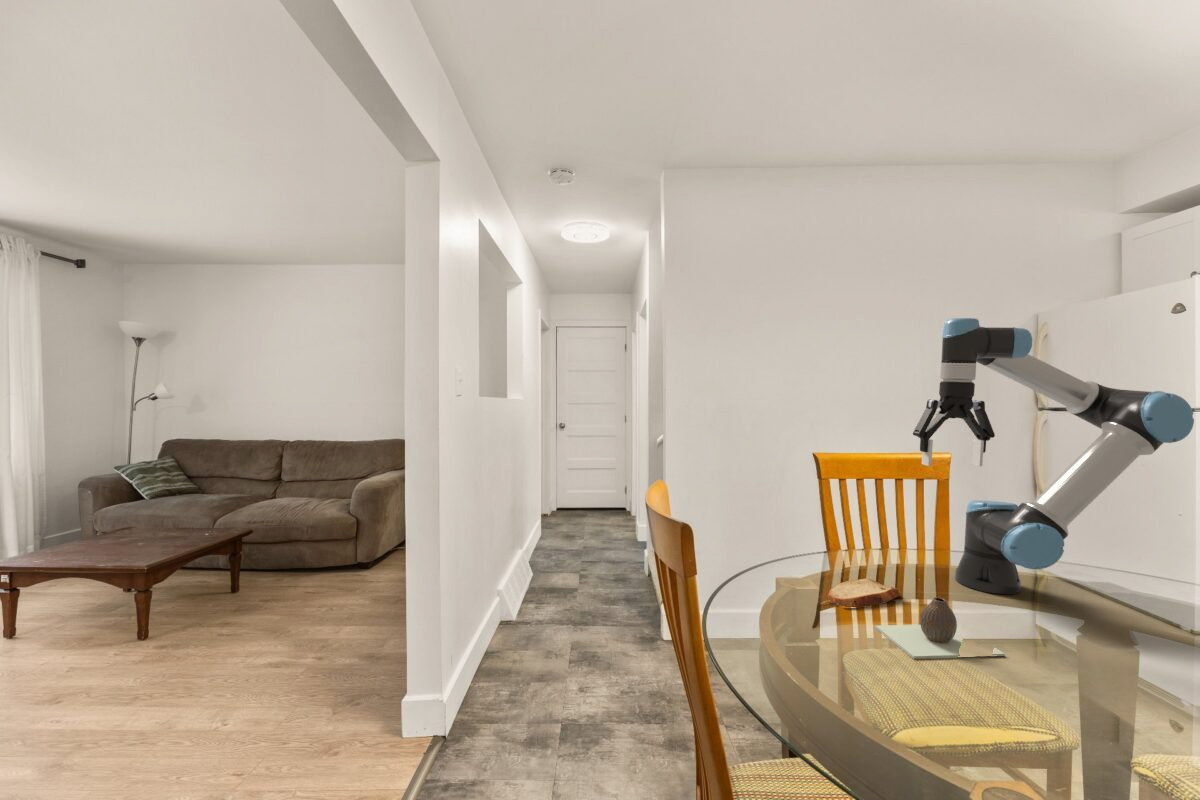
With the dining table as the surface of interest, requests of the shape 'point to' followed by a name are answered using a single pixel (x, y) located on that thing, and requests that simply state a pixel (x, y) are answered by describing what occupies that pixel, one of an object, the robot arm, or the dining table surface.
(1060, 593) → the dining table surface
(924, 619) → the vase
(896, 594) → the slice of bread
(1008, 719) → the dining table surface
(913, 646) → the mat
